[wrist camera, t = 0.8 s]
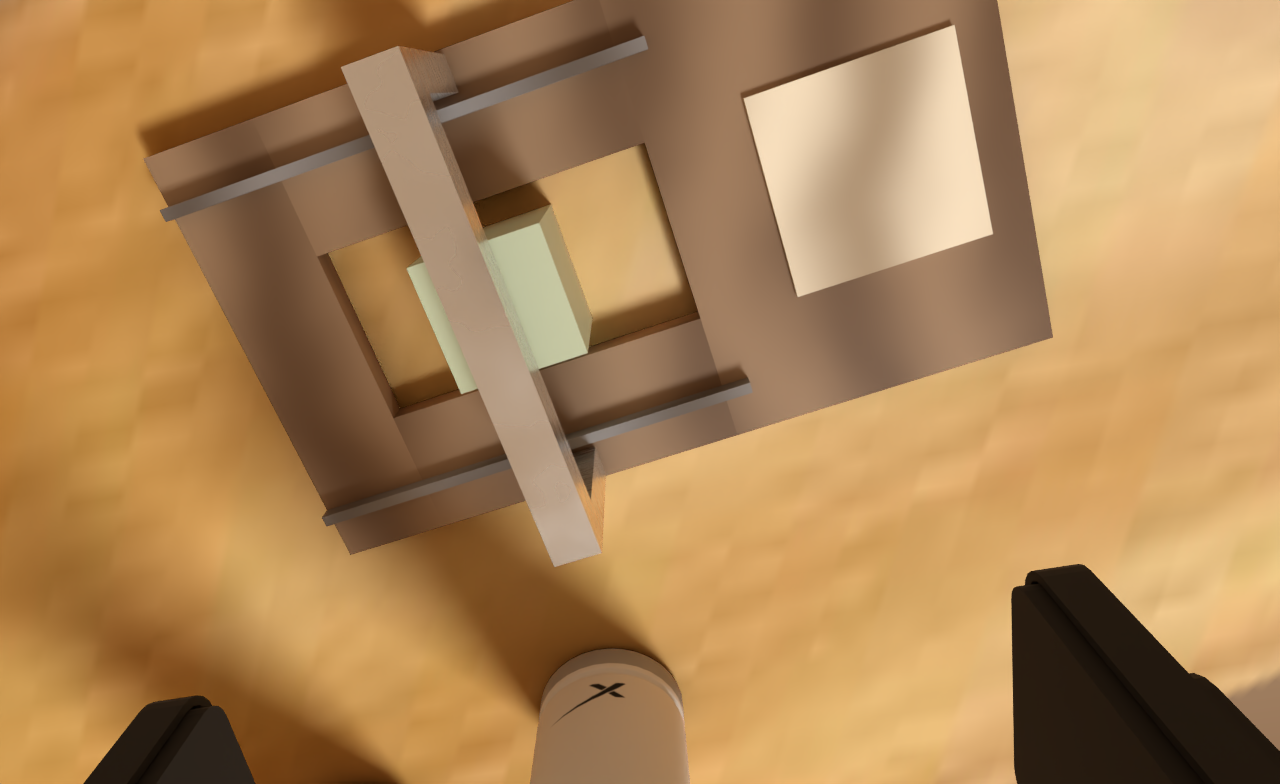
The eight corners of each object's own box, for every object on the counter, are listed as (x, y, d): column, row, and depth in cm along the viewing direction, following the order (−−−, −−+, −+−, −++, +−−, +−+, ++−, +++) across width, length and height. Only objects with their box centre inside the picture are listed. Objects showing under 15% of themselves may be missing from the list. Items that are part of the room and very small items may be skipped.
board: (960, -138, 26) (980, -152, 24) (1040, 329, 31) (1061, 342, 30) (159, 156, 29) (133, 160, 27) (358, 541, 34) (345, 562, 32)
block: (551, 203, 29) (539, 222, 25) (592, 317, 31) (587, 352, 27) (436, 243, 30) (406, 268, 26) (482, 353, 31) (461, 394, 27)
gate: (444, 54, 26) (397, 45, 21) (606, 474, 32) (602, 552, 26) (397, 71, 27) (340, 67, 21) (566, 486, 32) (554, 567, 26)
